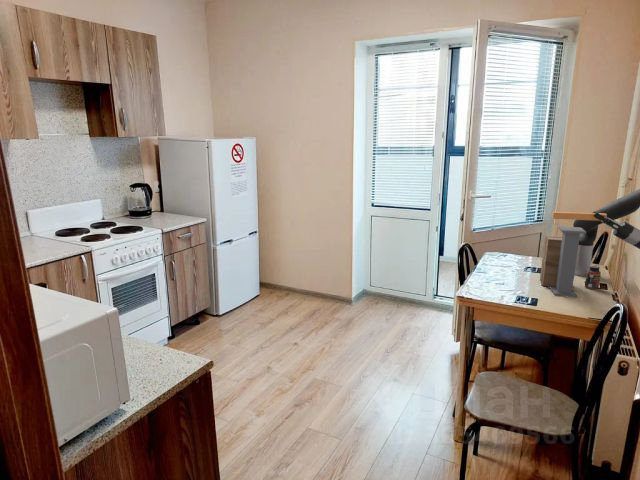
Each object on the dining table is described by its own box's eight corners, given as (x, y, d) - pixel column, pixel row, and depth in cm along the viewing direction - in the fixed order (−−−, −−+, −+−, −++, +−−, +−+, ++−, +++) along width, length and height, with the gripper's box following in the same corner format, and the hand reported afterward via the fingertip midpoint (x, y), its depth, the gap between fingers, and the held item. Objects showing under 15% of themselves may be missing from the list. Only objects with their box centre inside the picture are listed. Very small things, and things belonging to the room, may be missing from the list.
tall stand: (550, 288, 218) (557, 226, 210) (572, 290, 215) (581, 227, 207) (554, 295, 209) (562, 230, 201) (577, 297, 205) (586, 231, 198)
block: (551, 217, 207) (552, 211, 206) (604, 219, 200) (605, 213, 199) (553, 218, 204) (553, 212, 204) (606, 220, 197) (607, 214, 197)
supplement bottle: (591, 290, 215) (594, 268, 212) (581, 286, 220) (584, 265, 218) (601, 289, 216) (604, 267, 214) (591, 285, 222) (594, 264, 219)
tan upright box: (539, 280, 231) (545, 235, 225) (564, 282, 227) (570, 236, 221) (542, 286, 221) (548, 239, 216) (568, 288, 218) (575, 240, 212)
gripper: (628, 223, 202) (595, 204, 205) (639, 229, 189) (603, 209, 192) (617, 236, 205) (584, 217, 207) (627, 243, 192) (592, 222, 195)
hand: (593, 213), depth 200 cm, fingers closed on block, 3 cm apart
